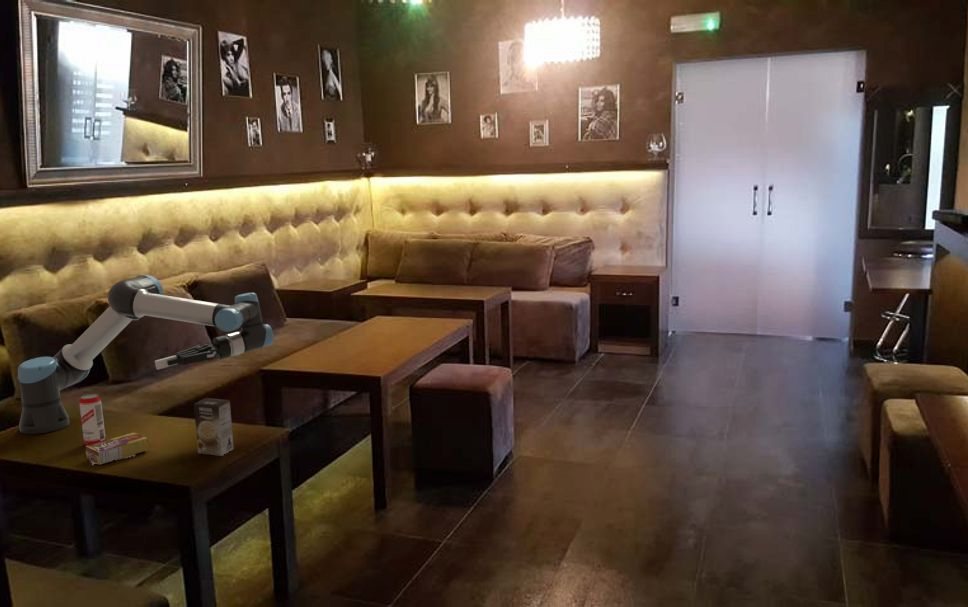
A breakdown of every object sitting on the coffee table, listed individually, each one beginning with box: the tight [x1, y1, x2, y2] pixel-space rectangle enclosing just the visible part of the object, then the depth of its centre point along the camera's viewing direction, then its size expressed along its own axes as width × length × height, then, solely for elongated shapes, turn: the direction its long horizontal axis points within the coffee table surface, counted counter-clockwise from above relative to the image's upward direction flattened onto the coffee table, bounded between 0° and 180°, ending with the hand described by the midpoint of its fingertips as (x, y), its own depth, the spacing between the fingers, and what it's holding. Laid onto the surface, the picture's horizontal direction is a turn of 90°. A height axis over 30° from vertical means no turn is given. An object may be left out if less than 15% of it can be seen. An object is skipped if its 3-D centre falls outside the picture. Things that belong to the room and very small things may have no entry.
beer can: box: [79, 393, 107, 446], centre depth 254 cm, size 6×6×16 cm
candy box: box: [85, 432, 149, 465], centre depth 243 cm, size 9×4×15 cm
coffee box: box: [193, 397, 234, 457], centre depth 244 cm, size 9×6×16 cm
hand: (156, 365), depth 253 cm, fingers closed
